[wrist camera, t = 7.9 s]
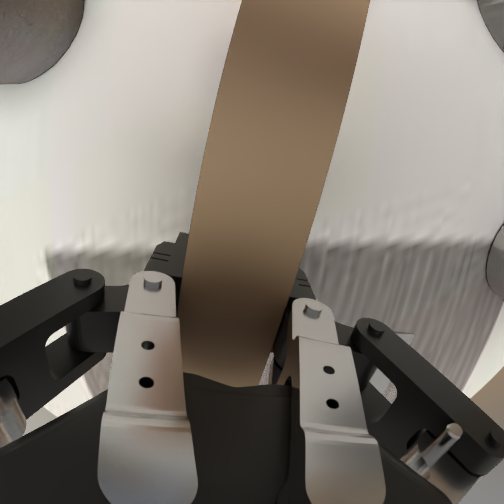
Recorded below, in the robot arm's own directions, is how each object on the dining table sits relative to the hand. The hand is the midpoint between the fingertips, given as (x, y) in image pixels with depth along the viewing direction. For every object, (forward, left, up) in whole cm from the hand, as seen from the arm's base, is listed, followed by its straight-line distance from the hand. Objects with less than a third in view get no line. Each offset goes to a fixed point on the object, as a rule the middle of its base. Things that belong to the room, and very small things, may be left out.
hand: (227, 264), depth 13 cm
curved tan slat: (0, 0, -2) cm, 2 cm away
